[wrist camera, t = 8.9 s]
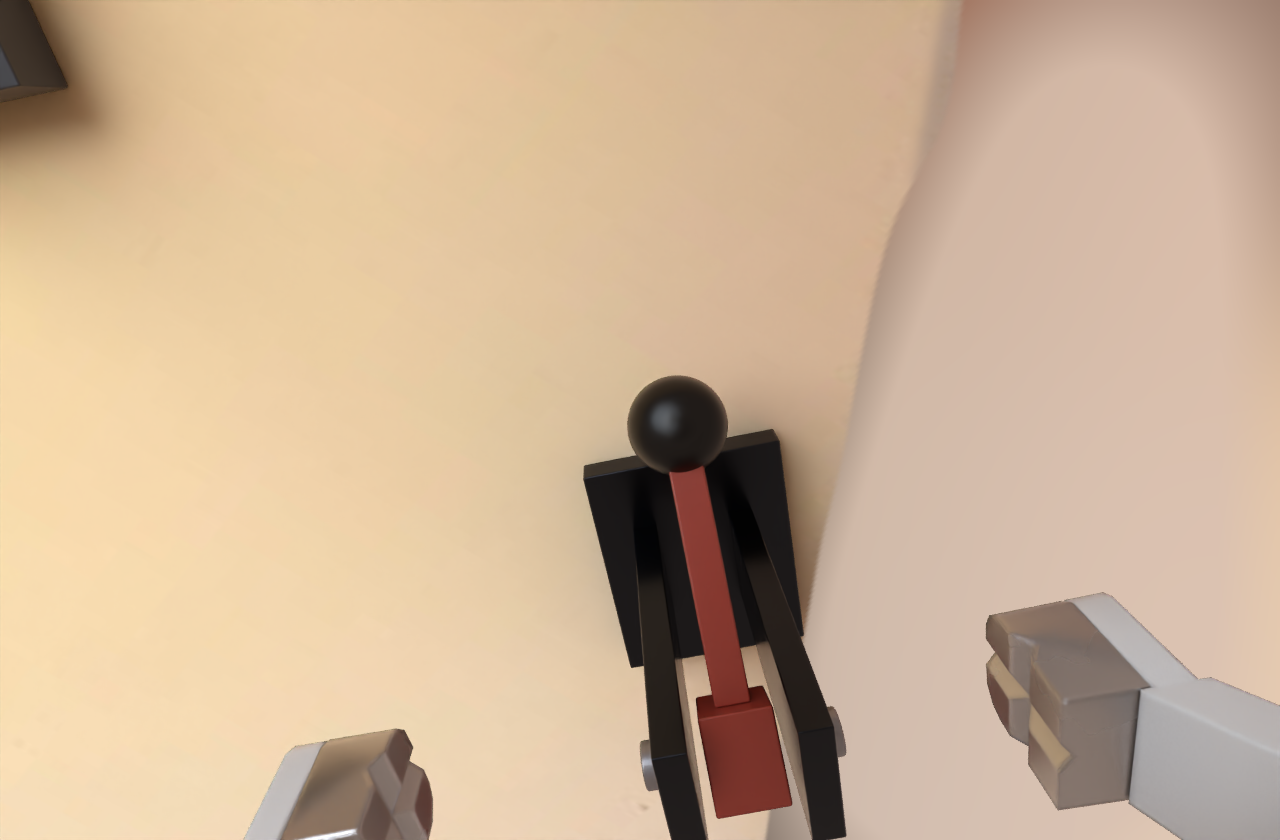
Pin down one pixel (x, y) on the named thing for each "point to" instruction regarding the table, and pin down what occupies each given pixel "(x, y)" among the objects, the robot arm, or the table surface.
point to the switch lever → (711, 596)
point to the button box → (25, 54)
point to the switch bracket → (669, 631)
